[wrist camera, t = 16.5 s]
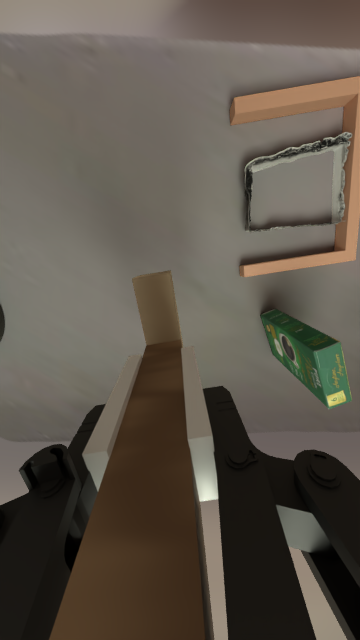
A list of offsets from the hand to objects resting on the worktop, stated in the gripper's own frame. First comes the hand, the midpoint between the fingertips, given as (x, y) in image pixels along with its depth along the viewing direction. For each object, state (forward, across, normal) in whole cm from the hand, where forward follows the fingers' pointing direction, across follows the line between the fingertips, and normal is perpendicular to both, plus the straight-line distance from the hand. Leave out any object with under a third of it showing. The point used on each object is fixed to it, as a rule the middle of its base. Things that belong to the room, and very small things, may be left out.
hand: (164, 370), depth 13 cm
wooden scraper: (+5, 0, 0) cm, 5 cm away
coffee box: (+20, +16, -7) cm, 26 cm away
